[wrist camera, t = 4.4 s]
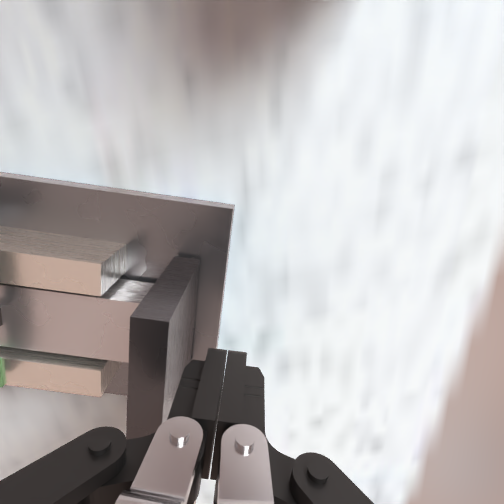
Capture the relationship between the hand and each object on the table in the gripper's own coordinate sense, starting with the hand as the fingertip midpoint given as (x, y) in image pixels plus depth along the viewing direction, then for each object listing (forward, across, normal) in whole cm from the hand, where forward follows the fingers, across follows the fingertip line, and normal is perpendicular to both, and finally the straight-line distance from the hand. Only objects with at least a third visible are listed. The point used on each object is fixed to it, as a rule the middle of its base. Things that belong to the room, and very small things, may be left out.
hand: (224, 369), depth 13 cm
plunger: (+4, +6, 0) cm, 7 cm away
